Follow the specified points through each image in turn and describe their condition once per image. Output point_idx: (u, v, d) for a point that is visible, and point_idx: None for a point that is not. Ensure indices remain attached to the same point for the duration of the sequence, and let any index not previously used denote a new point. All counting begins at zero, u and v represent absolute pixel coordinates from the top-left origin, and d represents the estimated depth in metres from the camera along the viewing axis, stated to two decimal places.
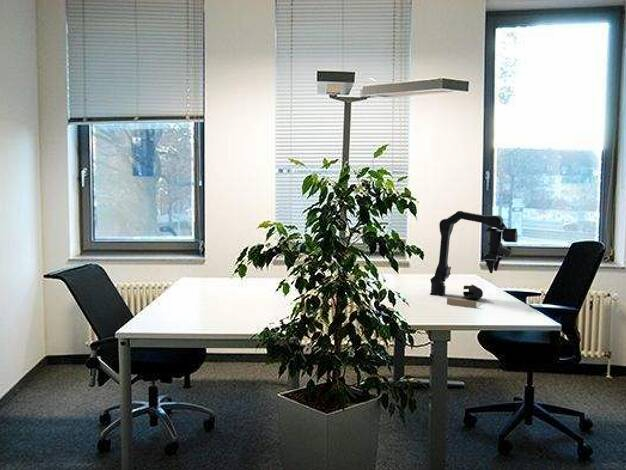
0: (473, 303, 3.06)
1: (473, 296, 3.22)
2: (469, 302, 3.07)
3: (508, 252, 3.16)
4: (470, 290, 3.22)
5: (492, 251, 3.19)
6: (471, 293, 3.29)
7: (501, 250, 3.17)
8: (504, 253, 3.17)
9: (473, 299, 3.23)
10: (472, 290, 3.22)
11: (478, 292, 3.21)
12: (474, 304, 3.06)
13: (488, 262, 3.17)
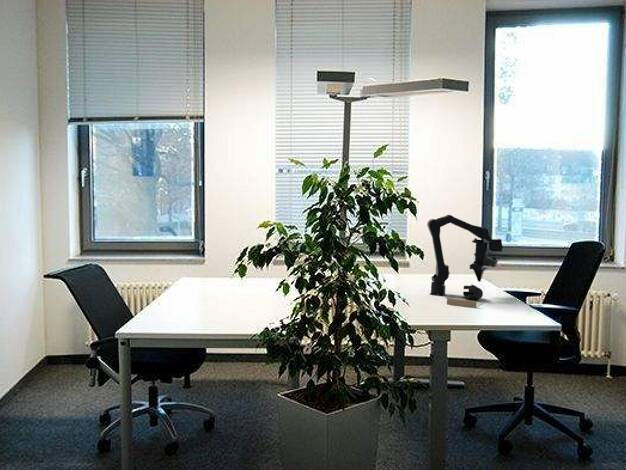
0: (473, 303, 3.06)
1: (473, 296, 3.22)
2: (469, 302, 3.07)
3: (493, 262, 3.30)
4: (470, 290, 3.22)
5: (478, 262, 3.33)
6: (471, 293, 3.29)
7: (486, 260, 3.31)
8: (489, 263, 3.31)
9: (473, 299, 3.23)
10: (472, 290, 3.22)
11: (478, 292, 3.21)
12: (474, 304, 3.06)
13: (476, 271, 3.35)
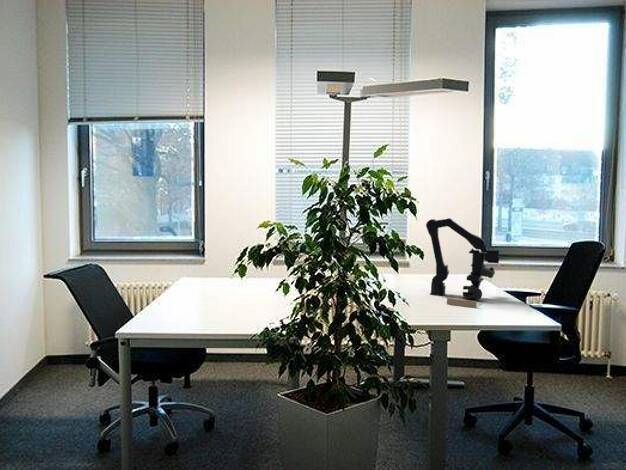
0: (473, 303, 3.06)
1: (472, 296, 3.21)
2: (469, 302, 3.07)
3: (490, 273, 3.26)
4: (469, 290, 3.21)
5: (475, 273, 3.29)
6: (471, 293, 3.28)
7: (484, 271, 3.27)
8: (486, 274, 3.27)
9: (472, 299, 3.22)
10: (471, 290, 3.21)
11: (477, 292, 3.20)
12: (474, 304, 3.06)
13: (473, 282, 3.31)
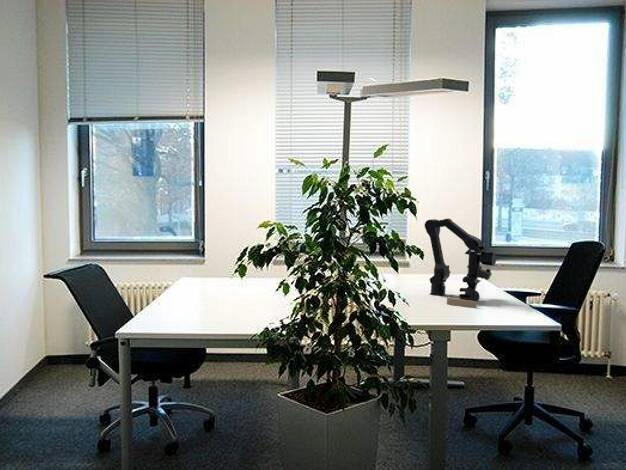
0: (473, 303, 3.06)
1: (469, 299, 3.15)
2: (469, 302, 3.07)
3: (487, 275, 3.20)
4: (466, 293, 3.14)
5: (471, 274, 3.23)
6: (467, 295, 3.22)
7: (480, 273, 3.21)
8: (483, 276, 3.20)
9: None
10: (468, 293, 3.14)
11: (475, 295, 3.14)
12: (474, 304, 3.06)
13: (470, 284, 3.25)
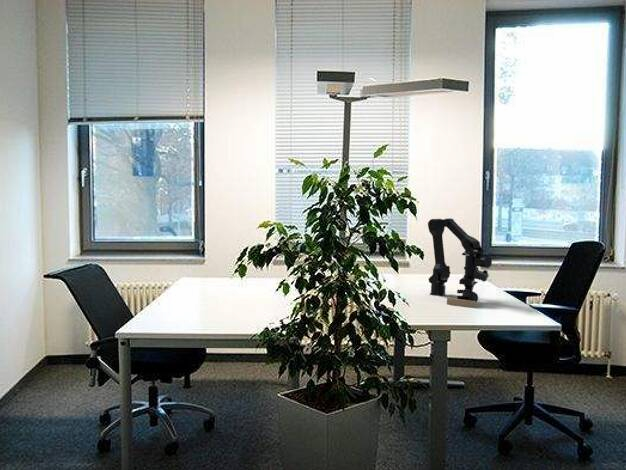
0: (473, 303, 3.06)
1: None
2: (469, 302, 3.07)
3: (484, 277, 3.15)
4: (465, 294, 3.09)
5: (468, 276, 3.18)
6: (465, 297, 3.17)
7: (477, 274, 3.16)
8: (480, 278, 3.16)
9: None
10: (467, 294, 3.10)
11: (473, 296, 3.10)
12: (474, 304, 3.06)
13: (466, 285, 3.20)
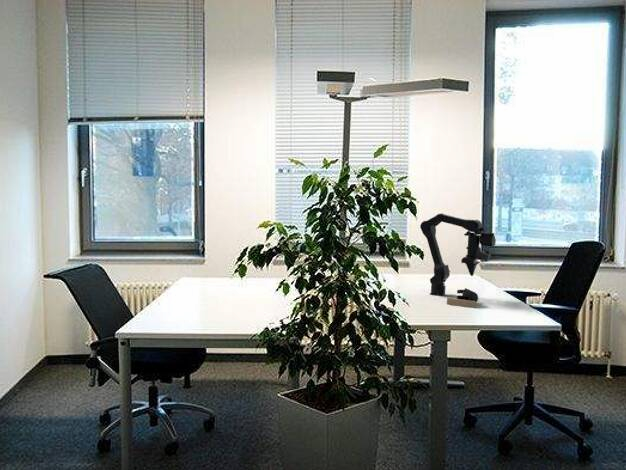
0: (473, 303, 3.06)
1: None
2: (469, 302, 3.07)
3: (486, 256, 3.20)
4: (465, 294, 3.09)
5: (470, 255, 3.23)
6: (465, 297, 3.17)
7: (479, 254, 3.21)
8: (482, 257, 3.21)
9: None
10: (467, 294, 3.10)
11: (473, 296, 3.10)
12: (474, 304, 3.06)
13: (469, 265, 3.25)
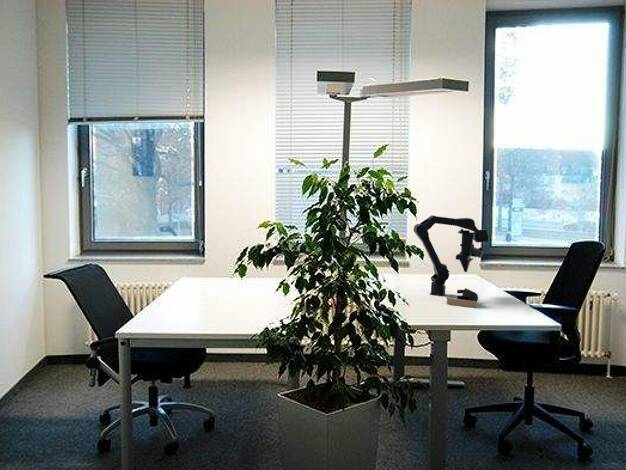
0: (473, 303, 3.06)
1: None
2: (469, 302, 3.07)
3: (479, 253, 3.31)
4: (465, 294, 3.09)
5: (464, 252, 3.34)
6: (465, 297, 3.17)
7: (472, 251, 3.32)
8: (475, 254, 3.32)
9: None
10: (467, 294, 3.10)
11: (473, 296, 3.10)
12: (474, 304, 3.06)
13: (463, 261, 3.36)
